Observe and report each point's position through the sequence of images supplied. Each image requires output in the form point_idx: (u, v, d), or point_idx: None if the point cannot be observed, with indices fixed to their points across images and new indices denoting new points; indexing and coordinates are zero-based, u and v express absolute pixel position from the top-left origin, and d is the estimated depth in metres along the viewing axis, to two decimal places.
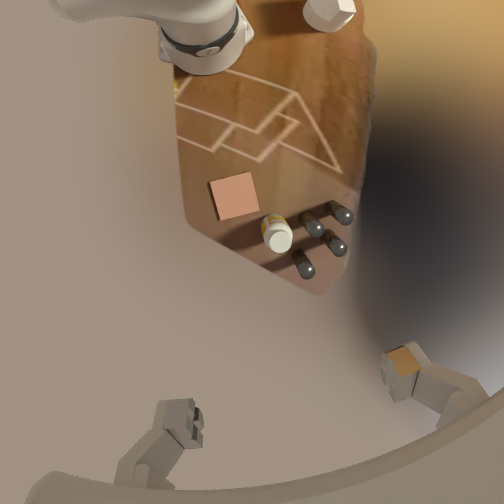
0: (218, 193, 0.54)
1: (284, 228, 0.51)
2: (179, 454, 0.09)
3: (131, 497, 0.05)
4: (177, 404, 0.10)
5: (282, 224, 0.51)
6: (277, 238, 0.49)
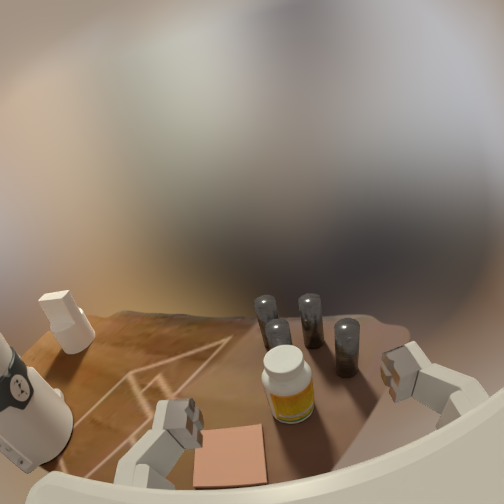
0: (216, 478, 0.23)
1: None
2: (179, 454, 0.09)
3: (131, 497, 0.05)
4: (177, 404, 0.10)
5: (264, 369, 0.29)
6: (275, 362, 0.26)
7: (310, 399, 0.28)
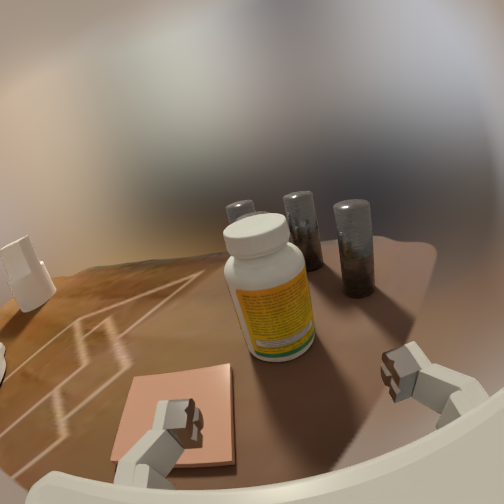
0: None
1: None
2: (179, 454, 0.09)
3: (131, 497, 0.05)
4: (177, 404, 0.10)
5: None
6: (240, 229, 0.17)
7: (307, 310, 0.18)
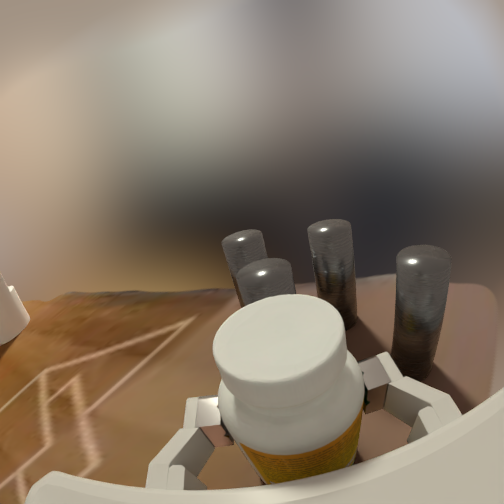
0: None
1: None
2: (210, 453, 0.09)
3: (131, 497, 0.05)
4: (208, 401, 0.10)
5: None
6: (249, 346, 0.08)
7: (355, 446, 0.09)
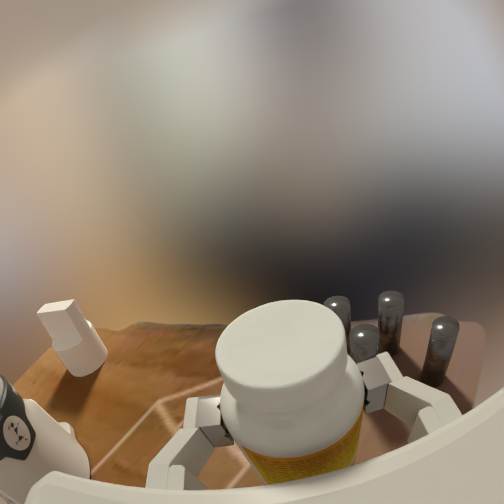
0: None
1: None
2: (209, 453, 0.09)
3: (131, 497, 0.05)
4: (208, 401, 0.10)
5: None
6: (251, 352, 0.08)
7: (355, 448, 0.09)
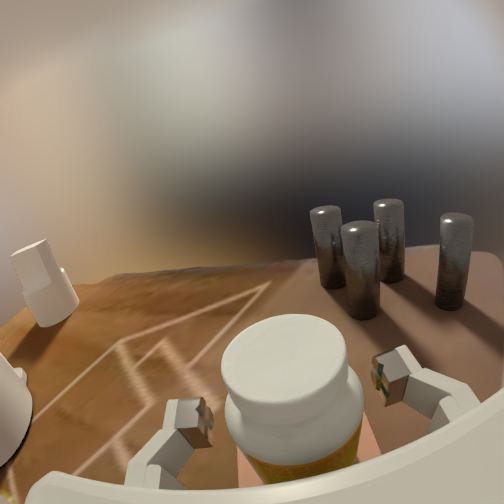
0: None
1: None
2: (189, 454, 0.09)
3: (131, 497, 0.05)
4: (188, 403, 0.10)
5: None
6: (256, 367, 0.08)
7: (354, 454, 0.09)
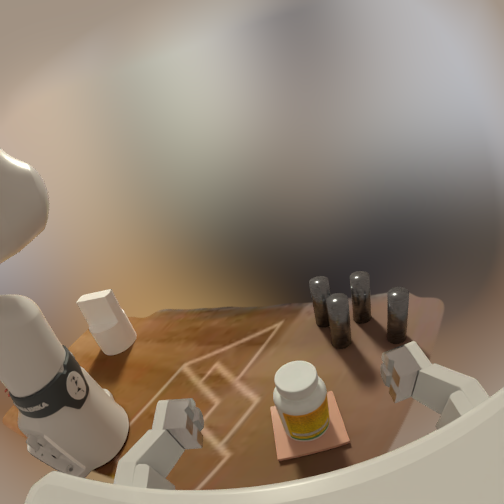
0: (299, 447, 0.25)
1: None
2: (179, 454, 0.09)
3: (131, 497, 0.05)
4: (177, 404, 0.10)
5: (275, 387, 0.26)
6: (287, 380, 0.24)
7: (325, 416, 0.25)
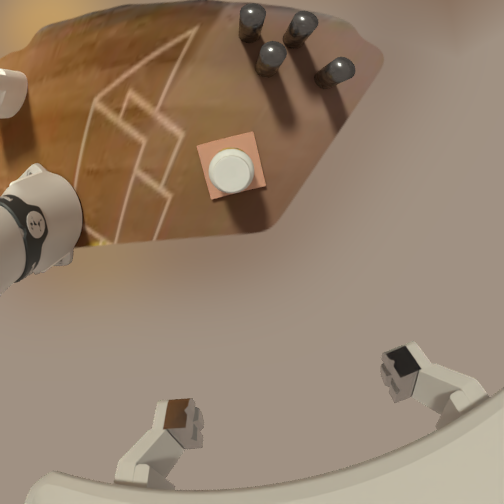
0: None
1: (215, 164, 0.31)
2: (179, 454, 0.09)
3: (131, 497, 0.05)
4: (177, 404, 0.10)
5: (209, 166, 0.31)
6: (224, 179, 0.30)
7: None
